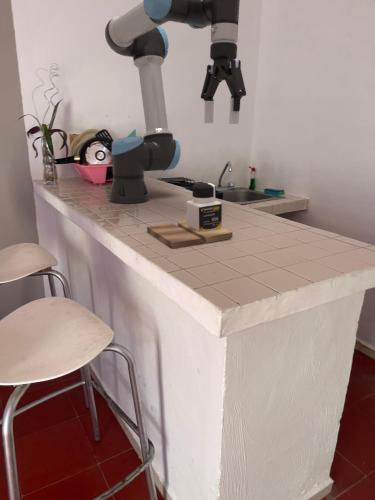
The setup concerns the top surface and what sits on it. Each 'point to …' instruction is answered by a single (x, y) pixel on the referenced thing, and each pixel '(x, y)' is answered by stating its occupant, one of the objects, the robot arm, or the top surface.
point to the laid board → (174, 236)
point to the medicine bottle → (204, 208)
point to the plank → (208, 233)
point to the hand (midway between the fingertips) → (220, 123)
